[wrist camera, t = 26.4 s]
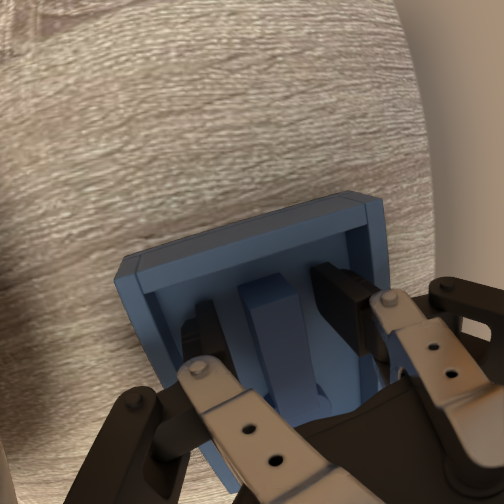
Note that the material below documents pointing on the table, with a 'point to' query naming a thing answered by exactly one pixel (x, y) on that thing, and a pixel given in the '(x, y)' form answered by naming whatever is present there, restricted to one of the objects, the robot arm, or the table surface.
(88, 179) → the table surface
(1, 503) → the pot
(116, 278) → the blue tray
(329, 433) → the robot arm
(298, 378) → the blue spoon
